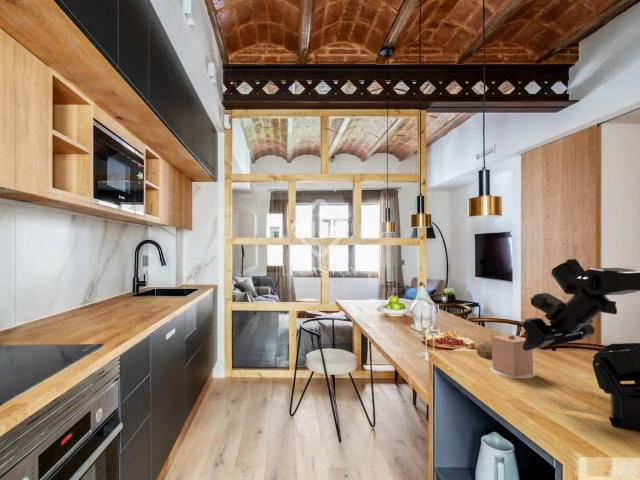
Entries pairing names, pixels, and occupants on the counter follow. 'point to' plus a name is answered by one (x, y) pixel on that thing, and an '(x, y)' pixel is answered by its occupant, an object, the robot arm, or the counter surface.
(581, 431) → the counter surface
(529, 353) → the pink knobbed box
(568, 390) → the counter surface
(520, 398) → the counter surface
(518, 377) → the plate
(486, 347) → the bread roll
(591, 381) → the counter surface
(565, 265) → the robot arm
